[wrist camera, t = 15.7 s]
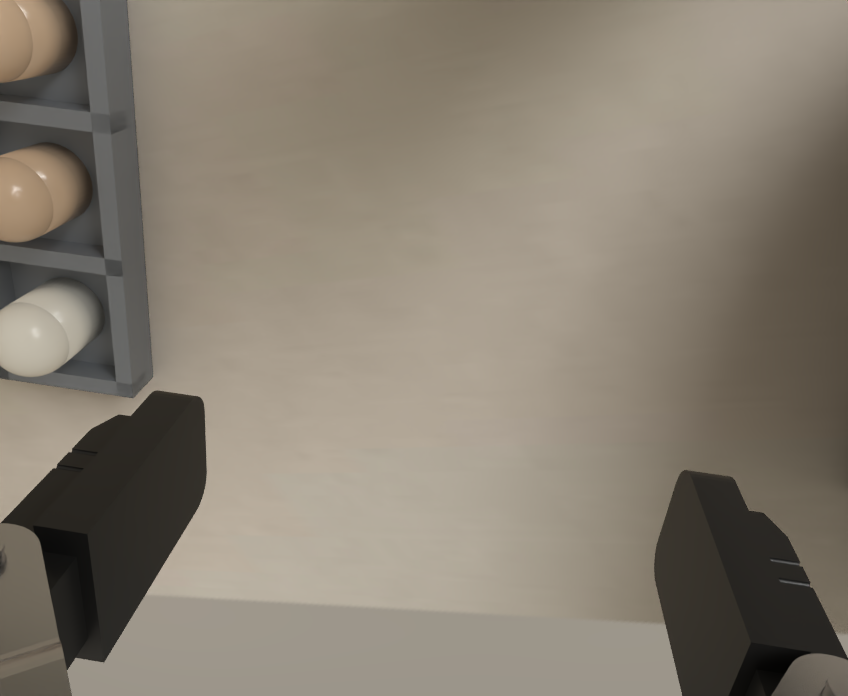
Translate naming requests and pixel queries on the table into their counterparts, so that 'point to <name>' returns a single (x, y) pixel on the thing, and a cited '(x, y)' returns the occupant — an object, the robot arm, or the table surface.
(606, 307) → the table surface
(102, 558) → the robot arm
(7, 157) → the brown egg middle
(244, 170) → the table surface
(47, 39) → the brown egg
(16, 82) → the egg tray
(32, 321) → the cream egg
